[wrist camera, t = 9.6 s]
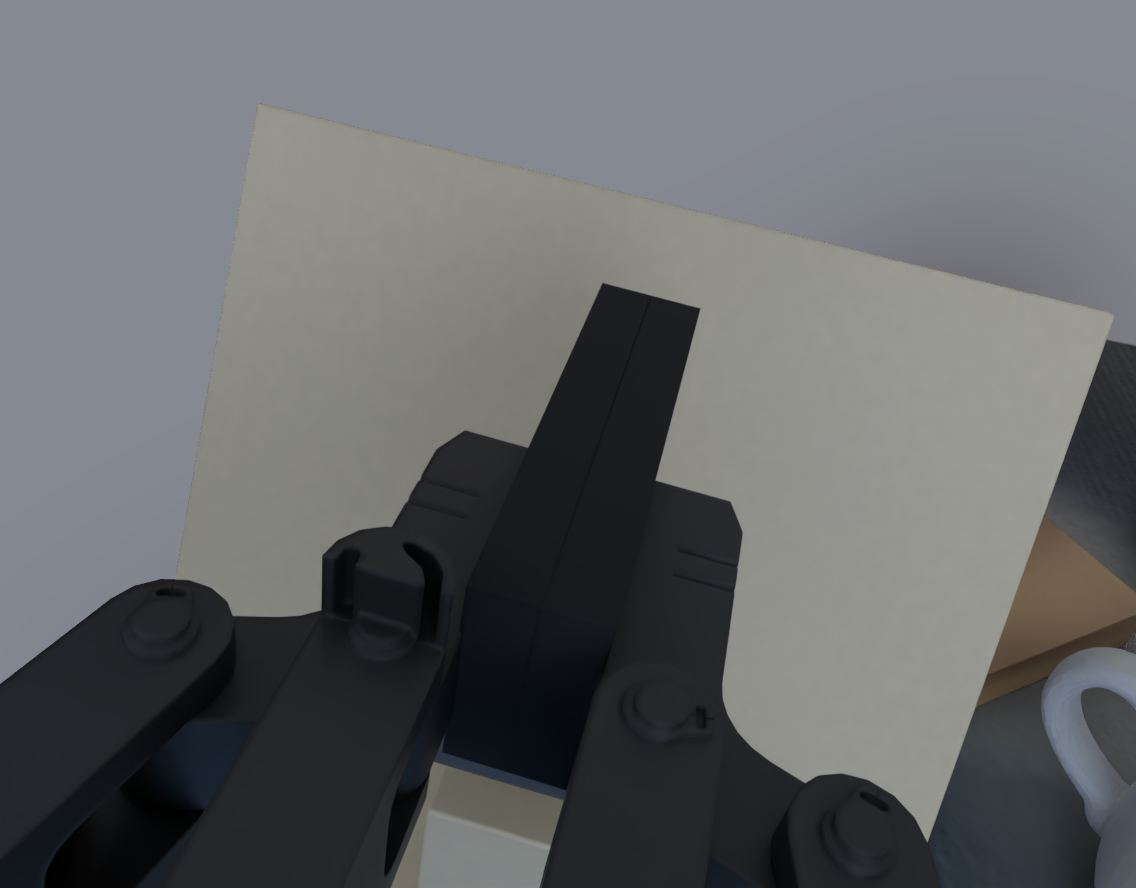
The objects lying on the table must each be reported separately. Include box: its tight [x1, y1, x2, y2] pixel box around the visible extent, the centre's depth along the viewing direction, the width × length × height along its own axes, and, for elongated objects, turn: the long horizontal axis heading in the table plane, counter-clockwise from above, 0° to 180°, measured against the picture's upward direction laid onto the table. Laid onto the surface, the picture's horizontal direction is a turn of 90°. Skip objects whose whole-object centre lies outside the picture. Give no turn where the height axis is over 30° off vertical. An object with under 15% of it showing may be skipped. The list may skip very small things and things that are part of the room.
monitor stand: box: [391, 762, 564, 888], centre depth 25 cm, size 10×12×10 cm
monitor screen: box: [175, 104, 1114, 842], centre depth 20 cm, size 6×18×13 cm, turn 77°
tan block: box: [976, 515, 1136, 707], centre depth 40 cm, size 12×10×4 cm
